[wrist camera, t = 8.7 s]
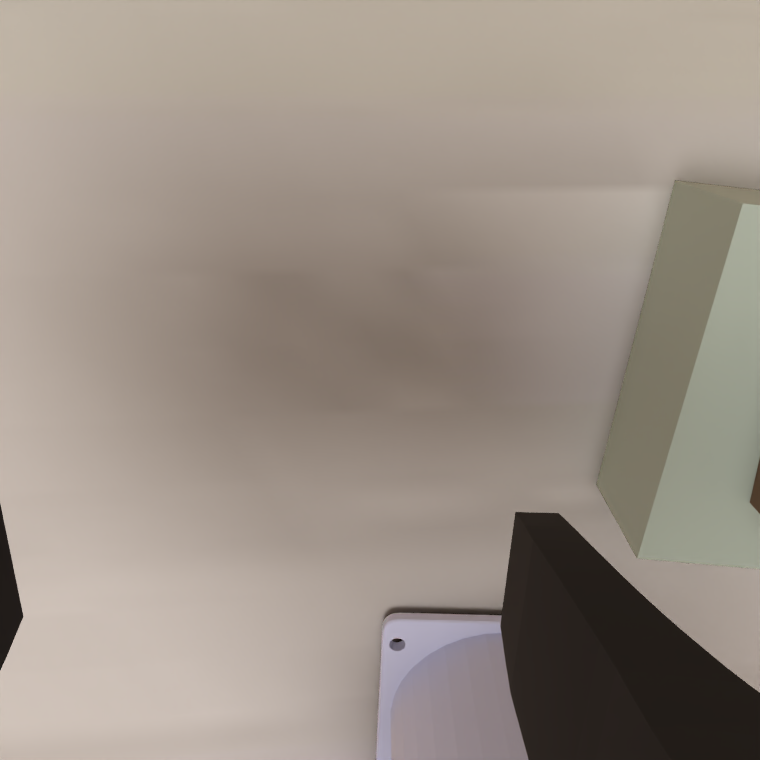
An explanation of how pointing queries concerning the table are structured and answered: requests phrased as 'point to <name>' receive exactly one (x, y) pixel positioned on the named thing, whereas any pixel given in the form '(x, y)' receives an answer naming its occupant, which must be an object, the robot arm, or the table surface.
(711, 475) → the sage block
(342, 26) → the table surface
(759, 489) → the walnut cube
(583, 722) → the robot arm
